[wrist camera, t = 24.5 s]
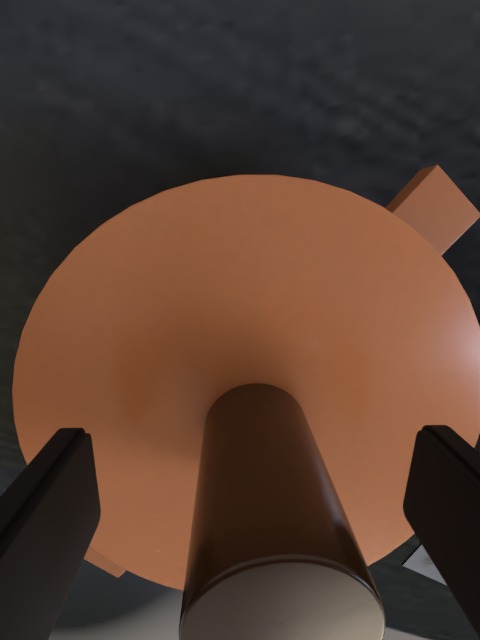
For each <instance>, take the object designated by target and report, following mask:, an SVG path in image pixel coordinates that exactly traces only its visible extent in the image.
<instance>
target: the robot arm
mask: <svg viewBox="0 0 480 640" xmlns="http://www.w3.org/2000/svg"><path fill="white" fill-rule="evenodd" d="M403 512H404V515H405V518H406V520H407V521H408V523H409V524H410V526H411V528H412V529H413V531H414V533H415V534H416V536H417V537H418V539H419V541H420V542H421V544H422V545H423V547H424V549H425V550H426V552H427V554H428V555H429V557H430V558H431V560H432V562H433V563H434V565H435V566H436V568H437V570H438V571H439V573H440V575H441V576H442V578H443V579H444V581H445V583H446V584H447V586H448V587H449V589H450V591H451V592H452V594H453V596H454V597H455V599H456V600H457V602H458V604H459V605H460V607H461V608H462V610H463V612H464V613H465V615H466V617H467V618H468V620H469V621H470V623H471V625H472V626H473V628H474V630H475V631H476V633H477V634H478V636H479V638H480V453H479V452H478V451H477V450H475V449H474V448H473V447H472V446H471V445H470V444H469V443H468V442H466V441H465V440H464V439H463V438H462V437H461V436H460V435H458V434H457V433H456V432H455V431H454V430H453V429H452V428H450V427H449V426H447V425H425V426H423V428H422V430H420V431H418V432H417V435H416V440H415V445H414V450H413V455H412V460H411V465H410V470H409V475H408V480H407V485H406V491H405V496H404V501H403ZM100 516H101V507H100V499H99V491H98V484H97V476H96V468H95V460H94V453H93V445H92V438H91V435H90V433H85V430H84V429H83V428H60V429H59V430H57V431H56V433H55V434H54V435H53V436H52V437H51V438H50V440H49V441H48V442H47V443H46V444H45V446H44V447H43V448H42V449H41V450H40V451H39V453H38V454H37V455H36V456H35V457H34V458H33V460H32V461H31V462H30V463H29V464H28V465H27V467H26V468H25V469H24V470H23V471H22V472H21V474H20V475H19V476H18V477H17V478H16V480H15V481H14V482H13V483H12V484H11V485H10V487H9V488H8V489H7V490H6V491H5V492H4V493H3V494H2V496H1V497H0V640H48V638H49V636H50V634H51V632H52V629H53V627H54V625H55V623H56V620H57V618H58V616H59V613H60V611H61V609H62V606H63V604H64V602H65V600H66V597H67V595H68V593H69V591H70V588H71V586H72V584H73V582H74V579H75V577H76V574H77V572H78V570H79V568H80V566H81V563H82V561H83V559H84V557H85V554H86V552H87V550H88V547H89V545H90V543H91V541H92V538H93V536H94V534H95V532H96V529H97V527H98V524H99V521H100Z"/></svg>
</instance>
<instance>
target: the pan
mask: <svg viewBox="0 0 480 640" xmlns="http://www.w3.org/2000/svg"><path fill="white" fill-rule="evenodd" d="M385 209H387V210H388V211H390V212H391V213H393V214H394V215H396V216H397V217H399V218H400V219H402V220H403V221H405V222H406V223H408V224H409V225H411V226H412V227H413V228H414V229H415V230H416V231H417V232H418V233H419V234H420V235H421V236H422V237H424V238H425V239H426V240H427V241H428V242H429V243H430V244H431V245H432V246H433V247H434V248H435V249H436V250H437V251H438V253H439V254H440V255H442V254H443V253H444V252H445V251H446V250H447V249H448V248H449V247H450V246H451V245H452V244H453V243H454V242H455V241H456V240H457V239H458V238H459V237H460V236H461V235H462V234H463V233H464V232H465V231H466V230H467V229H468V228H469V227H470V226H471V225H472V224H473V223H474V222H475V221H476V220H477V219H478V218H479V217H480V213H479V211H478V210H477V209H476V208H475V207H474V206H473V205H472V203H471V202H470V201H469V200H468V199H467V198H466V196H465V195H464V194H463V193H462V192H461V191H460V190H459V188H458V187H457V186H456V185H455V184H454V183H453V181H452V180H451V179H450V178H449V177H448V176H447V175H446V173H445V172H444V171H443V170H442V169H441V168H440V167H439V165H434V166H431V167H428V168H425V169H422V170H420V171H419V172H418V173H417V174H416V175H415V176H414V177H413V178H412V179H411V180H410V181H409V182H408V184H407V185H406V186H405V187H404V188H403V189H402V190H401V191H400V192H399V193H398V194H397V195H396V197H395V198H394V199H393V200H392V201H391V202H390V203H389V204H388V205H387V206H386V207H385ZM84 559H86V560H87V561H89V562H91V563H92V564H94V565H96V566H98V567H100V568H101V569H103V570H105V571H107V572H109V573H111V574H112V575H114V576H116V577H120V576H121V575H122V574H123V573H124V572H125V571H126V569H124V568H122V567H120V566H118V565H116V564H115V563H113V562H112V561H110V560H109V559H107V558H105V557H104V556H102V555H101V554H99V553H98V552H96V551H95V550H94V549H92V548H91V547H90V546H89V547H88V550H87V552H86V554H85V557H84Z"/></svg>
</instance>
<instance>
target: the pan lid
mask: <svg viewBox="0 0 480 640" xmlns="http://www.w3.org/2000/svg"><path fill="white" fill-rule="evenodd" d="M12 396H13V411H14V421H15V426H16V430H17V435H18V439H19V444H20V448H21V450H22V453H23V456H24V458H25V461H26V463H27V465H28V464H29V463H30V462H31V461H32V460H33V458H34V457H35V456H36V455H37V454H38V453H39V451H40V450H41V449H42V448H43V447H44V446H45V444H46V443H47V442H48V441H49V440H50V438H51V437H52V436H53V435H54V434H55V433H56V431H57V430H59V429H60V428H83V429H84V430H85V433H90V435H91V438H92V445H93V453H94V460H95V468H96V476H97V484H98V491H99V499H100V507H101V516H100V521H99V524H98V527H97V529H96V532H95V534H94V536H93V538H92V541H91V543H90V545H89V546H90V547H91V548H92V549H94V550H95V551H96V552H98V553H99V554H101V555H102V556H104V557H105V558H107V559H109V560H110V561H112V562H113V563H115V564H116V565H118V566H120V567H122V568H124V569H126V570H128V571H130V572H132V573H134V574H136V575H138V576H140V577H143V578H145V579H148V580H151V581H153V582H156V583H159V584H161V585H164V586H168V587H171V588H175V589H179V590H183V591H184V592H183V600H182V608H181V616H180V624H179V640H383V637H384V631H385V611H384V606H383V603H382V600H381V598H380V595H379V593H378V590H377V588H376V586H375V583H374V581H373V578H372V576H371V574H370V571H369V569H368V565H370V564H372V563H374V562H375V561H377V560H379V559H381V558H382V557H384V556H386V555H387V554H388V553H390V552H391V551H393V550H394V549H395V548H397V547H398V546H400V545H401V544H402V543H404V542H405V541H406V540H408V539H409V538H410V537H411V536H412V535H413V534H414V531H413V529H412V528H411V526H410V524H409V523H408V521H407V520H406V518H405V515H404V512H403V501H404V496H405V491H406V485H407V480H408V475H409V470H410V465H411V460H412V455H413V450H414V445H415V440H416V435H417V432H418V431H420V430H422V428H423V426H425V425H447V426H449V427H450V428H452V429H453V430H454V431H455V432H456V433H457V434H458V435H460V436H461V437H462V438H463V439H464V440H465V441H466V442H468V443H469V444H470V445H471V446H472V447H473V448H474V447H475V445H476V442H477V439H478V437H479V433H480V326H479V323H478V320H477V318H476V315H475V312H474V310H473V307H472V304H471V302H470V299H469V297H468V296H467V294H466V292H465V290H464V289H463V287H462V285H461V283H460V282H459V280H458V278H457V276H456V274H455V273H454V271H453V270H452V269H451V268H450V266H449V265H448V264H447V263H446V261H445V260H444V259H443V258H442V256H441V255H440V254H439V253H438V251H437V250H436V249H435V248H434V247H433V246H432V245H431V244H430V243H429V242H428V241H427V240H426V239H425V238H424V237H422V236H421V235H420V234H419V233H418V232H417V231H416V230H415V229H414V228H413V227H412V226H411V225H409V224H408V223H406V222H405V221H403V220H402V219H400V218H399V217H397V216H396V215H394V214H393V213H391V212H390V211H388V210H387V209H385V208H384V207H382V206H381V205H378V204H376V203H374V202H372V201H370V200H368V199H366V198H364V197H362V196H359V195H357V194H355V193H353V192H351V191H348V190H345V189H342V188H339V187H335V186H332V185H329V184H325V183H322V182H319V181H315V180H310V179H303V178H296V177H290V176H283V175H232V176H225V177H218V178H211V179H203V180H199V181H196V182H192V183H189V184H185V185H182V186H178V187H175V188H171V189H168V190H165V191H162V192H160V193H158V194H156V195H154V196H151V197H149V198H147V199H145V200H142V201H140V202H138V203H136V204H134V205H131V206H130V207H128V208H127V209H125V210H124V211H122V212H120V213H119V214H117V215H116V216H114V217H113V218H111V219H109V220H108V221H106V222H105V223H103V224H102V225H100V226H99V227H98V228H97V229H96V230H94V231H93V232H92V233H91V234H90V235H89V236H88V237H86V238H85V239H84V240H83V241H82V242H81V243H79V244H78V245H77V246H76V247H75V248H74V249H73V250H72V251H71V252H70V254H69V255H68V256H67V257H66V258H65V259H64V261H63V262H62V263H61V264H60V265H59V266H58V268H57V269H56V270H55V271H54V272H53V274H52V275H51V276H50V278H49V280H48V281H47V283H46V285H45V286H44V288H43V289H42V291H41V293H40V294H39V296H38V298H37V299H36V301H35V302H34V305H33V307H32V310H31V312H30V314H29V317H28V319H27V321H26V324H25V326H24V329H23V331H22V334H21V338H20V342H19V346H18V350H17V354H16V358H15V364H14V376H13V387H12Z"/></svg>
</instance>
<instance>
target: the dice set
mask: <svg viewBox="0 0 480 640" xmlns="http://www.w3.org/2000/svg"><path fill="white" fill-rule="evenodd" d="M402 566H405V567H407V568H409V569H411V570H414V571H416V572H418V573H420V574H423V575H425V576H427V577H429V578H432V579H434V580H436V581H438V582H441V583H443V584H445V585H447V584H446V583H445V581H444V579H443V578H442V576H441V575H440V573H439V571H438V570H437V568H436V566H435V565H434V563H433V562H432V560H431V558H430V557H429V555H428V554H427V552H426V550H425V549H424V547H423V545H421V546H420V547H419V548H418V549H417V550H416V551H415V552H414V554H413V555H412V556H411V557H410V558H409V559H408V560H407V561H406V562H405V563H404V564H403V565H402Z"/></svg>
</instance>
